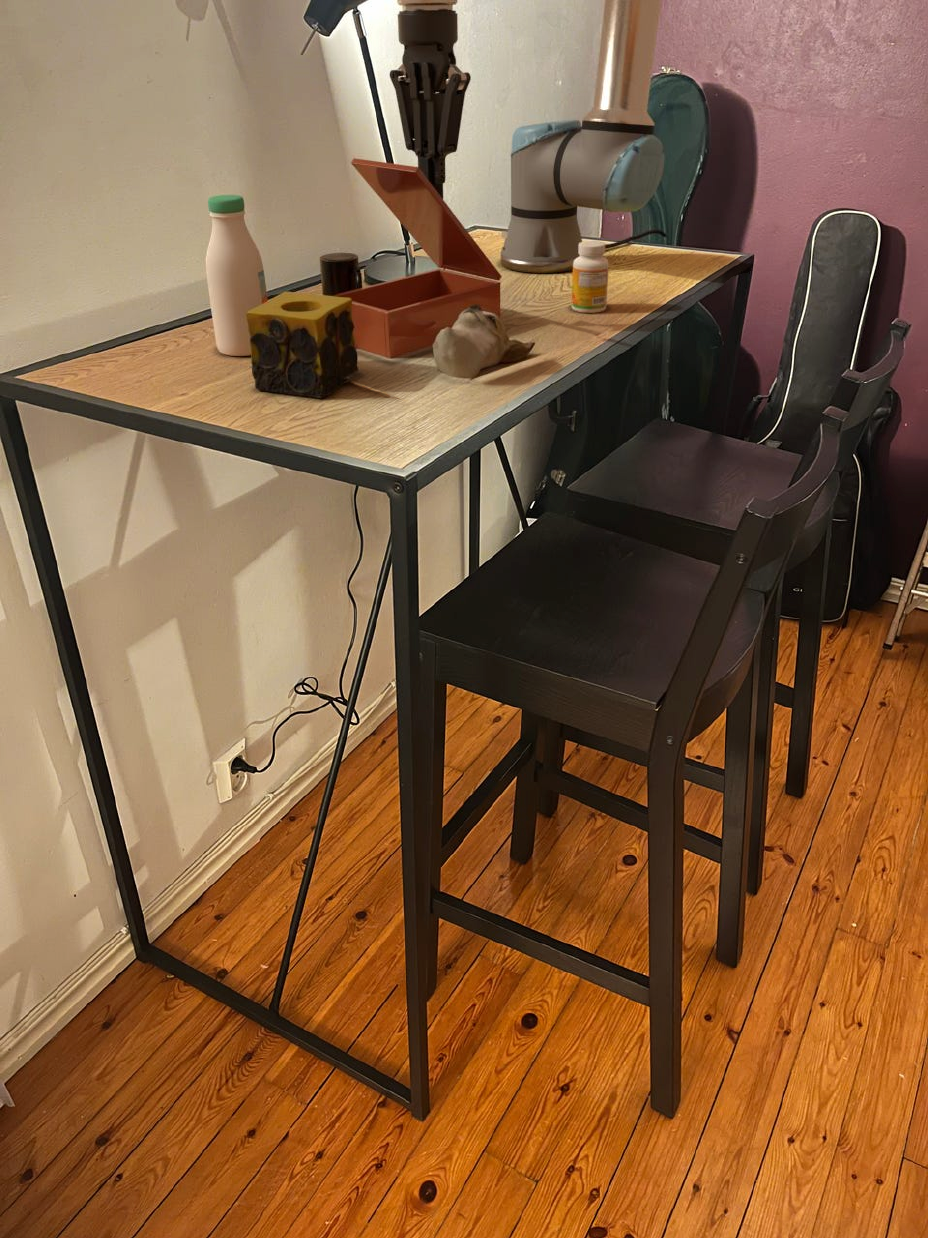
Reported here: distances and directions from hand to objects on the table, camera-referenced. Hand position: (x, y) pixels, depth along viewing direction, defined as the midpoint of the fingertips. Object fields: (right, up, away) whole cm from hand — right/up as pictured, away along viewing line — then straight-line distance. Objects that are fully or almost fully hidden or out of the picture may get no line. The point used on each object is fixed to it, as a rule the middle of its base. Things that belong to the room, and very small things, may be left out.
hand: (432, 208), depth 139 cm
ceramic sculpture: (+6, -24, -6) cm, 25 cm away
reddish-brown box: (-2, -16, +7) cm, 17 cm away
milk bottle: (-26, -19, +3) cm, 32 cm away
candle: (-16, -26, -9) cm, 32 cm away
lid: (-1, -2, 0) cm, 2 cm away
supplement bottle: (+24, -8, +18) cm, 31 cm away
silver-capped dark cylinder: (-14, -12, +14) cm, 23 cm away
